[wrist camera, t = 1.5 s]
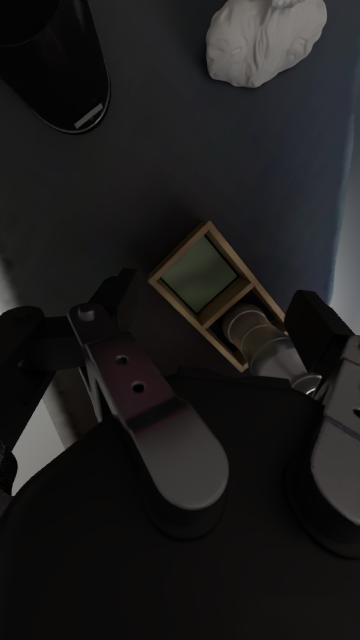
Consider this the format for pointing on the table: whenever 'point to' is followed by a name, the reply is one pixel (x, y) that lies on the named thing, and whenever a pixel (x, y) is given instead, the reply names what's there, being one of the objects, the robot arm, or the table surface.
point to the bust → (261, 38)
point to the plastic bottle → (266, 347)
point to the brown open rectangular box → (209, 284)
